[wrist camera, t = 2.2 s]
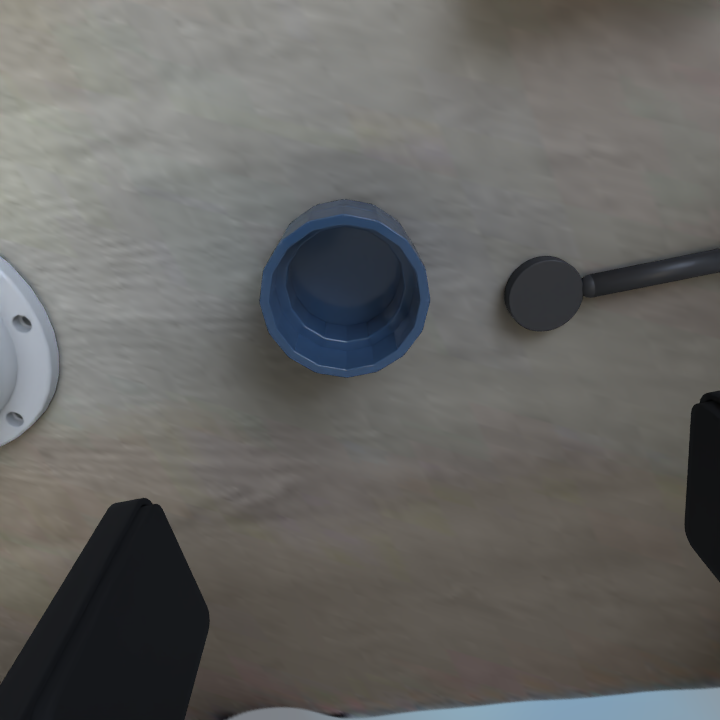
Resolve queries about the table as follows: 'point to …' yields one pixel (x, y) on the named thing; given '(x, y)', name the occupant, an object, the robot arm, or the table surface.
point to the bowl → (344, 290)
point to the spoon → (588, 285)
